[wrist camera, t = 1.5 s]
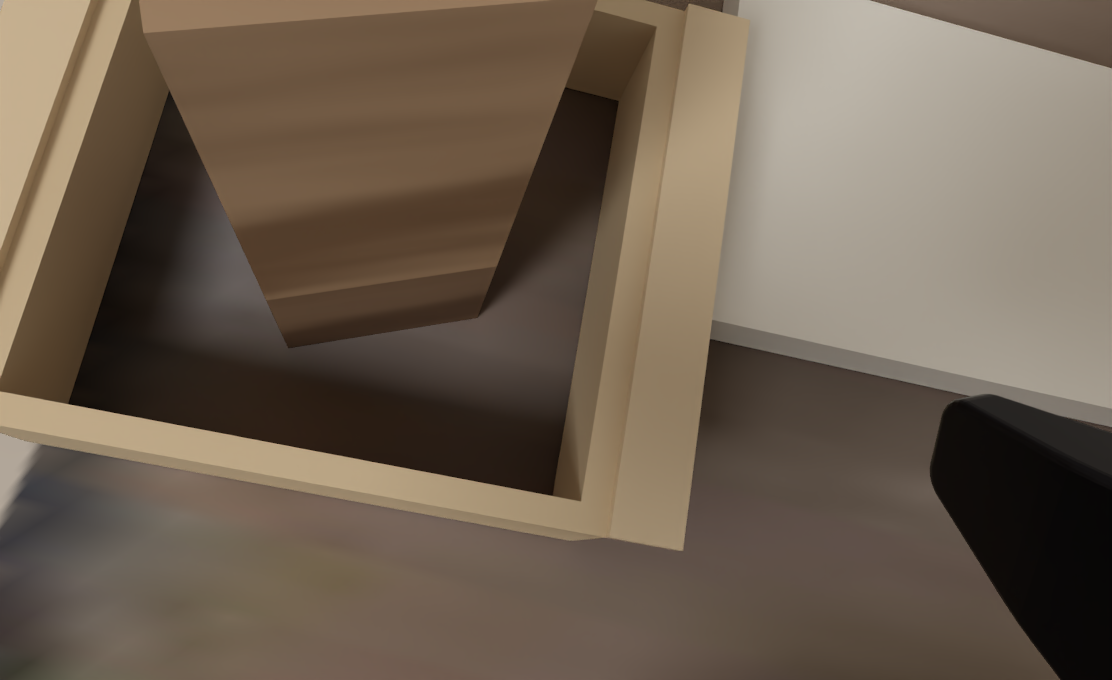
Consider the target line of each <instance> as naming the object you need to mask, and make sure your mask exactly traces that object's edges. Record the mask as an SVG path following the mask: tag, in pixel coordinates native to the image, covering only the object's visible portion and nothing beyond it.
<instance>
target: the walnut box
mask: <svg viewBox="0 0 1112 680" xmlns="http://www.w3.org/2000/svg"><path fill="white" fill-rule="evenodd" d="M597 1H598V0H139V5H140V12H141V20H142V27H143V34H144V36H145V38H146V40H147V42H148V45H149V47H150V49H151V51H152V53H153V55H154V58H155V60H156V62H157V64H158V66H159V68H160V71H161V73H162V75H163V77H164V79H165V81H166V84H167V86H168V88H169V90H170V92H171V94H172V97H173V99H174V101H175V103H176V105H177V107H178V110H179V112H180V114H181V116H182V118H183V121H184V123H185V125H186V127H187V129H188V131H189V134H190V136H191V138H192V140H193V142H194V144H195V147H196V149H197V151H198V153H199V155H200V157H201V160H202V162H203V164H204V166H205V168H206V170H207V173H208V175H209V177H210V179H211V181H212V184H213V186H214V188H215V190H216V192H217V194H218V197H219V199H220V201H221V203H222V205H223V207H224V210H225V212H226V214H227V216H228V218H229V220H230V223H231V225H232V227H233V229H234V231H235V233H236V236H237V238H238V240H239V242H240V244H241V247H242V249H243V251H244V253H245V255H246V257H247V260H248V262H249V264H250V266H251V268H252V270H253V273H254V275H255V277H256V279H257V281H258V283H259V286H260V288H261V290H262V292H263V294H264V296H265V299H266V301H267V303H268V305H269V307H270V310H271V312H272V314H273V316H274V318H275V320H276V323H277V325H278V327H279V329H280V331H281V333H282V336H283V338H284V340H285V342H286V344H287V346H288V348H292V347H298V346H305V345H311V344H317V343H323V342H330V341H336V340H342V339H348V338H354V337H361V336H367V335H373V334H379V333H386V332H392V331H398V330H404V329H410V328H417V327H423V326H429V325H435V324H442V323H448V322H454V321H460V320H466V319H473V318H477V317H478V315H479V312H480V309H481V307H482V304H483V301H484V299H485V296H486V293H487V291H488V288H489V286H490V283H491V280H492V278H493V275H494V272H495V270H496V267H497V264H498V262H499V259H500V257H501V254H502V251H503V249H504V246H505V243H506V241H507V238H508V235H509V233H510V230H511V228H512V225H513V222H514V220H515V217H516V214H517V212H518V209H519V206H520V204H521V201H522V199H523V196H524V193H525V191H526V188H527V185H528V183H529V180H530V177H531V175H532V172H533V170H534V167H535V164H536V162H537V159H538V156H539V154H540V151H541V149H542V146H543V143H544V141H545V138H546V135H547V133H548V130H549V127H550V125H551V122H552V120H553V117H554V114H555V112H556V109H557V106H558V104H559V101H560V98H561V96H562V93H563V91H564V88H565V85H566V83H567V80H568V77H569V75H570V72H571V69H572V67H573V64H574V62H575V59H576V56H577V54H578V51H579V48H580V46H581V43H582V40H583V38H584V35H585V33H586V30H587V27H588V25H589V22H590V19H591V17H592V14H593V11H594V9H595V6H596V4H597Z"/></svg>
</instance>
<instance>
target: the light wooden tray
mask: <svg viewBox="0 0 1112 680" xmlns="http://www.w3.org/2000/svg"><path fill="white" fill-rule="evenodd" d="M749 25H750V20H748V19H745V18H741V17H737V16H734V15H730V14H726V13H723V12H719V11H715V10H712V9H708V8H704V7H701V6H697V5H693V4H690V3H689V4H688V6H687V8H686V10H685V11H683V10H679V9H676V8H672V7H668V6H665V5H661V4H657V3H654V2H650V1H646V0H598V1H597V4H596V6H595V9H594V11H593V14H592V17H591V19H590V22H589V25H588V27H587V30H586V33H585V35H584V38H583V40H582V43H581V46H580V48H579V51H578V54H577V56H576V59H575V62H574V64H573V67H572V69H571V72H570V75H569V77H568V80H567V83H566V85H565V87H566V88H570V89H574V90H578V91H582V92H585V93H589V94H593V95H597V96H601V97H605V98H609V99H613V100H617V101H619V104H618V110H617V116H616V122H615V127H614V133H613V139H612V145H611V151H610V157H609V163H608V169H607V175H606V181H605V187H604V193H603V199H602V205H601V211H600V217H599V223H598V229H597V235H596V240H595V246H594V252H593V258H592V264H591V270H590V276H589V282H588V288H587V294H586V300H585V306H584V312H583V318H582V324H581V330H580V336H579V342H578V348H577V354H576V359H575V365H574V371H573V377H572V383H571V389H570V395H569V401H568V407H567V413H566V419H565V425H564V431H563V437H562V443H561V449H560V455H559V461H558V467H557V472H556V478H555V484H554V490H553V496H549V495H544V494H539V493H533V492H528V491H523V490H518V489H512V488H507V487H502V486H497V485H491V484H486V483H481V482H475V481H470V480H465V479H460V478H454V477H449V476H444V475H439V474H433V473H428V472H423V471H417V470H412V469H407V468H402V467H396V466H391V465H386V464H381V463H375V462H370V461H365V460H359V459H354V458H349V457H344V456H338V455H333V454H328V453H323V452H317V451H312V450H307V449H301V448H296V447H291V446H286V445H280V444H275V443H270V442H264V441H259V440H254V439H249V438H243V437H238V436H233V435H228V434H222V433H217V432H212V431H206V430H201V429H196V428H191V427H185V426H180V425H175V424H170V423H164V422H159V421H154V420H148V419H143V418H138V417H133V416H127V415H122V414H117V413H112V412H106V411H101V410H96V409H90V408H85V407H80V406H75V405H69V404H68V403H69V400H70V396H71V393H72V390H73V387H74V384H75V381H76V378H77V375H78V372H79V369H80V365H81V362H82V359H83V356H84V353H85V350H86V347H87V344H88V341H89V338H90V334H91V331H92V328H93V325H94V322H95V319H96V316H97V313H98V310H99V307H100V303H101V300H102V297H103V294H104V291H105V288H106V285H107V282H108V279H109V276H110V272H111V269H112V266H113V263H114V260H115V257H116V254H117V251H118V248H119V245H120V241H121V238H122V235H123V232H124V229H125V226H126V223H127V220H128V217H129V214H130V211H131V207H132V204H133V201H134V198H135V195H136V192H137V189H138V186H139V183H140V180H141V176H142V173H143V170H144V167H145V164H146V161H147V158H148V155H149V152H150V149H151V145H152V142H153V139H154V136H155V133H156V130H157V127H158V124H159V121H160V118H161V114H162V111H163V108H164V105H165V102H166V99H167V96H168V93H169V88H168V86H167V84H166V81H165V79H164V77H163V75H162V73H161V71H160V68H159V66H158V64H157V62H156V60H155V58H154V55H153V53H152V51H151V49H150V47H149V45H148V42H147V40H146V38H145V36H144V34H143V27H142V20H141V12H140V5H139V0H4V3H3V6H2V8H1V11H0V433H2V434H6V435H8V436H11V437H15V438H18V439H21V440H24V441H28V442H33V443H39V444H44V445H49V446H55V447H60V448H66V449H71V450H77V451H82V452H88V453H93V454H99V455H104V456H110V457H115V458H120V459H126V460H131V461H137V462H142V463H148V464H153V465H159V466H164V467H170V468H175V469H181V470H186V471H191V472H197V473H202V474H208V475H213V476H219V477H224V478H230V479H235V480H241V481H246V482H251V483H257V484H262V485H268V486H273V487H279V488H284V489H290V490H295V491H301V492H306V493H312V494H317V495H322V496H328V497H333V498H339V499H344V500H350V501H355V502H361V503H366V504H372V505H377V506H383V507H388V508H393V509H399V510H404V511H410V512H415V513H421V514H426V515H432V516H437V517H443V518H448V519H454V520H459V521H464V522H470V523H475V524H481V525H486V526H492V527H497V528H503V529H508V530H514V531H519V532H524V533H530V534H535V535H541V536H546V537H552V538H557V539H563V540H568V541H575V540H585V539H596V538H611V539H617V540H622V541H627V542H633V543H638V544H644V545H649V546H654V547H660V548H665V549H671V550H676V551H683V546H684V538H685V530H686V522H687V514H688V506H689V498H690V491H691V483H692V475H693V467H694V459H695V451H696V443H697V435H698V427H699V420H700V412H701V404H702V396H703V388H704V380H705V372H706V364H707V356H708V349H709V341H710V333H711V325H712V317H713V309H714V301H715V293H716V286H717V278H718V270H719V262H720V254H721V246H722V238H723V230H724V222H725V215H726V207H727V199H728V191H729V183H730V175H731V167H732V159H733V151H734V144H735V136H736V128H737V120H738V112H739V104H740V96H741V88H742V81H743V73H744V65H745V57H746V49H747V41H748V33H749Z"/></svg>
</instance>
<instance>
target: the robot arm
mask: <svg viewBox="0 0 1112 680" xmlns="http://www.w3.org/2000/svg"><path fill="white" fill-rule="evenodd" d="M930 477H931V482H932V485H933V488H934V490H935V492H936V494H937V496H938V497H939V499H940V501H941V502H942V504H943V505H944V507H945V509H946V510H947V512H948V513H949V515H950V517H951V518H952V520H953V521H954V523H955V525H956V526H957V528H958V529H959V531H960V533H961V534H962V536H963V537H964V539H965V541H966V542H967V544H968V545H969V547H970V549H971V550H972V552H973V553H974V555H975V557H976V558H977V560H978V561H979V563H980V565H981V566H982V568H983V569H984V571H985V573H986V574H987V576H988V577H989V579H990V581H991V582H992V584H993V585H994V587H995V589H996V590H997V592H998V593H999V595H1000V597H1001V598H1002V600H1003V601H1004V603H1005V604H1006V606H1007V607H1008V609H1009V610H1010V612H1011V613H1012V615H1013V616H1014V618H1015V619H1016V621H1017V622H1018V624H1019V625H1020V626H1021V628H1022V629H1023V631H1024V632H1025V633H1026V635H1027V636H1028V637H1029V639H1030V640H1031V642H1032V643H1033V644H1034V646H1035V647H1036V648H1037V650H1038V651H1039V652H1040V653H1041V655H1042V656H1043V657H1044V659H1045V660H1046V661H1047V663H1048V664H1049V665H1050V667H1051V668H1052V669H1053V670H1054V672H1055V673H1056V674H1057V676H1058V677H1059V678H1060V680H1112V433H1111V432H1108V431H1104V430H1101V429H1098V428H1095V427H1092V426H1089V425H1086V424H1083V423H1080V422H1077V421H1074V420H1071V419H1068V418H1065V417H1062V416H1059V415H1056V414H1053V413H1050V412H1047V411H1043V410H1040V409H1037V408H1034V407H1031V406H1028V405H1025V404H1022V403H1019V402H1016V401H1013V400H1010V399H1007V398H1004V397H1001V396H998V395H994V394H980V395H975V396H970V397H965V398H960V399H956V400H953V401H952V402H950V403H949V404H948V405H947V406H946V408H945V409H944V411H943V414H942V417H941V421H940V426H939V430H938V434H937V438H936V442H935V447H934V451H933V455H932V459H931V464H930Z"/></svg>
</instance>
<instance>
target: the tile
mask: <svg viewBox="0 0 1112 680" xmlns="http://www.w3.org/2000/svg"><path fill="white" fill-rule="evenodd" d="M722 12H723V13H726V14H730V15H734V16H737V17H741V18H745V19H748V20H750V25H749V33H748V41H747V49H746V57H745V65H744V73H743V81H742V88H741V96H740V104H739V112H738V120H737V128H736V136H735V144H734V151H733V159H732V167H731V175H730V183H729V191H728V199H727V207H726V215H725V222H724V230H723V238H722V246H721V254H720V262H719V270H718V278H717V286H716V293H715V301H714V309H713V317H712V325H711V333H710V339H713V340H717V341H722V342H726V343H731V344H736V345H740V346H745V347H749V348H754V349H758V350H763V351H767V352H772V353H777V354H781V355H786V356H790V357H795V358H799V359H804V360H808V361H813V362H818V363H822V364H827V365H831V366H836V367H840V368H845V369H849V370H854V371H859V372H863V373H868V374H872V375H877V376H881V377H886V378H890V379H895V380H900V381H904V382H909V383H913V384H918V385H922V386H927V387H931V388H936V389H941V390H945V391H950V392H954V393H959V394H963V395H968V396H975V395H980V394H994V395H998V396H1001V397H1004V398H1007V399H1010V400H1013V401H1016V402H1019V403H1022V404H1025V405H1028V406H1031V407H1034V408H1037V409H1040V410H1043V411H1047V412H1050V413H1053V414H1056V415H1059V416H1064V417H1068V418H1073V419H1077V420H1082V421H1086V422H1091V423H1095V424H1100V425H1105V426H1109V427H1112V68H1108V67H1105V66H1101V65H1098V64H1094V63H1091V62H1087V61H1083V60H1080V59H1076V58H1073V57H1069V56H1066V55H1062V54H1059V53H1055V52H1051V51H1048V50H1044V49H1041V48H1037V47H1034V46H1030V45H1026V44H1023V43H1019V42H1016V41H1012V40H1009V39H1005V38H1002V37H998V36H994V35H991V34H987V33H984V32H980V31H977V30H973V29H969V28H966V27H962V26H959V25H955V24H952V23H948V22H945V21H941V20H937V19H934V18H930V17H927V16H923V15H920V14H916V13H913V12H909V11H905V10H902V9H898V8H895V7H891V6H888V5H884V4H880V3H877V2H873V1H870V0H724V3H723V10H722Z"/></svg>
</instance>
